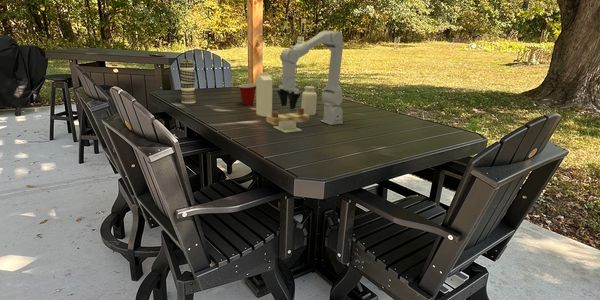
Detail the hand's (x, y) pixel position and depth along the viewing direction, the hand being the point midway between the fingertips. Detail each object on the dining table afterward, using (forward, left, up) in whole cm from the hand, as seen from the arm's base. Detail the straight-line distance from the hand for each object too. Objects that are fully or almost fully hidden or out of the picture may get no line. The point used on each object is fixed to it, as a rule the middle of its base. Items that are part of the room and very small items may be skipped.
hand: (288, 107), depth 175 cm
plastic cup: (+60, -8, -10) cm, 61 cm away
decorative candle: (+81, +21, -10) cm, 84 cm away
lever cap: (0, 0, -10) cm, 10 cm away
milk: (+31, -4, -10) cm, 33 cm away
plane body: (+13, -8, -10) cm, 18 cm away
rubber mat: (0, 0, -10) cm, 10 cm away
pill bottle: (+23, -27, -10) cm, 37 cm away
